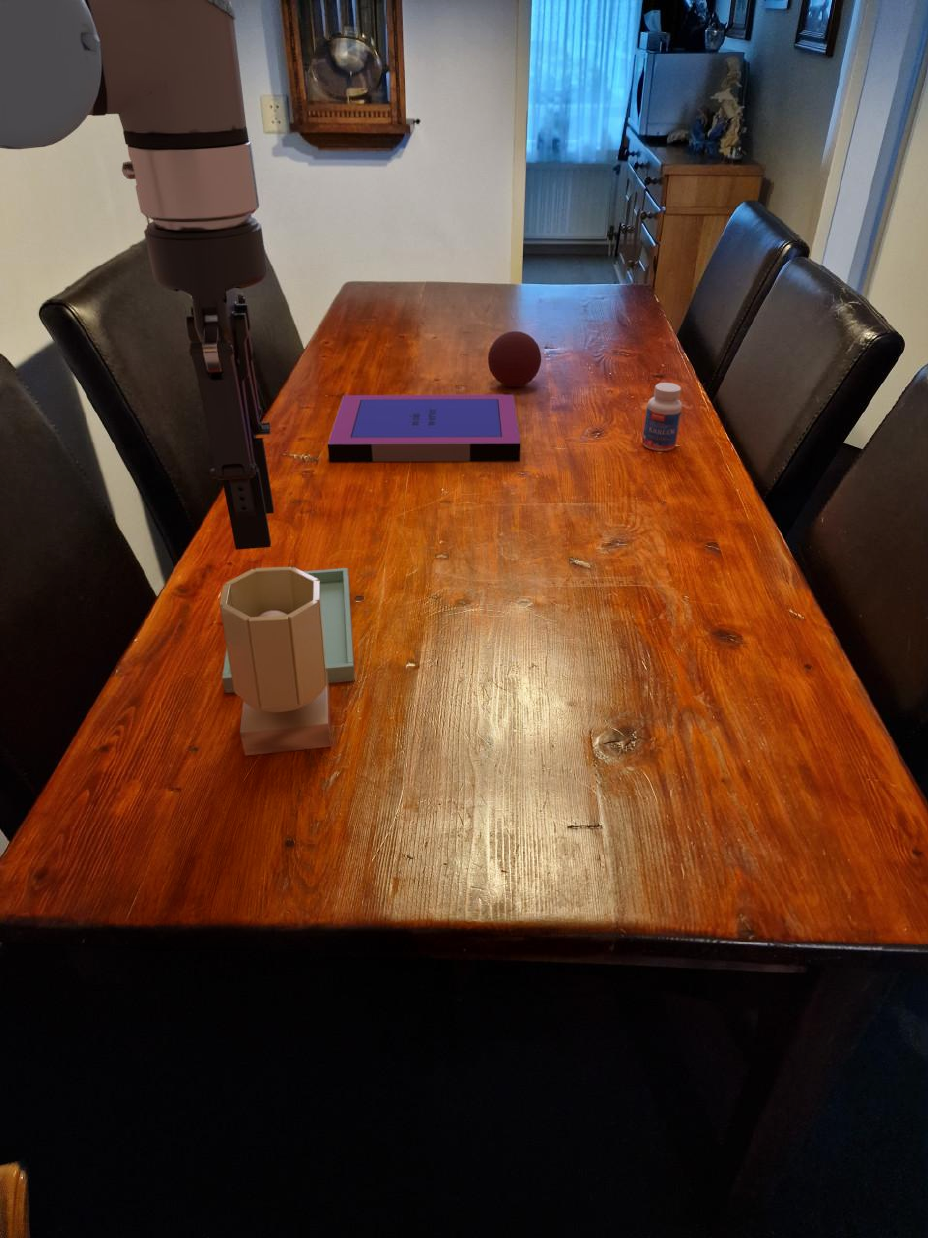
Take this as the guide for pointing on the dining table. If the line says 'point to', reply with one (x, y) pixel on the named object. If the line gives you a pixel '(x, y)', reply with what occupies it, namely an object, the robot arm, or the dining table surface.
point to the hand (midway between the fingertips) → (255, 528)
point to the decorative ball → (514, 359)
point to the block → (287, 727)
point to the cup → (275, 638)
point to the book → (425, 429)
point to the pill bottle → (662, 418)
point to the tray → (328, 627)
